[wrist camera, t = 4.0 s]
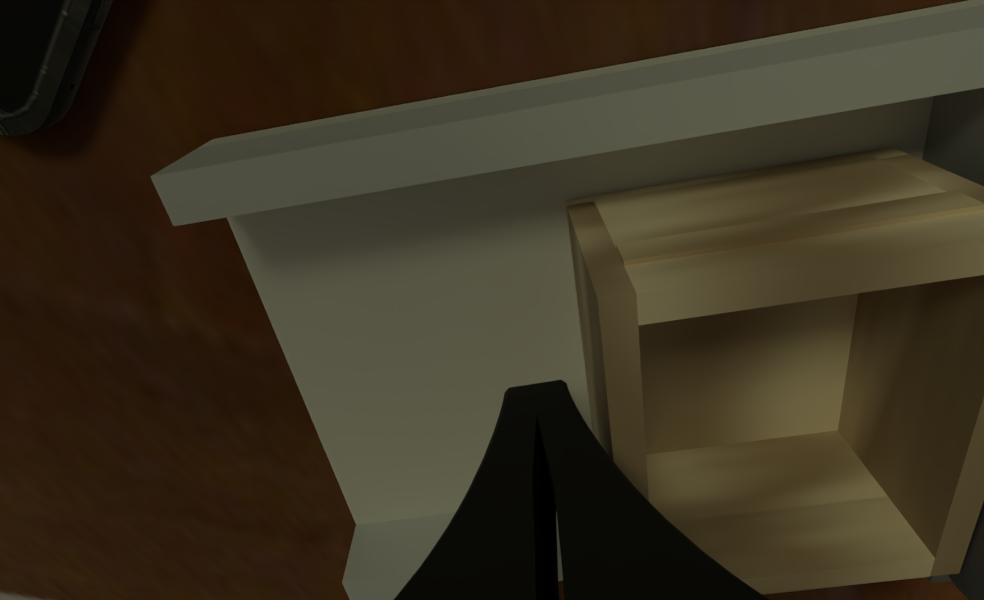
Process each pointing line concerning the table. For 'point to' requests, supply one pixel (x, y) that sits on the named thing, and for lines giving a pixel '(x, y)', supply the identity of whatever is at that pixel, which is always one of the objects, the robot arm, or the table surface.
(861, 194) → the crate
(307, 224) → the bay
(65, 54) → the phone
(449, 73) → the table surface
